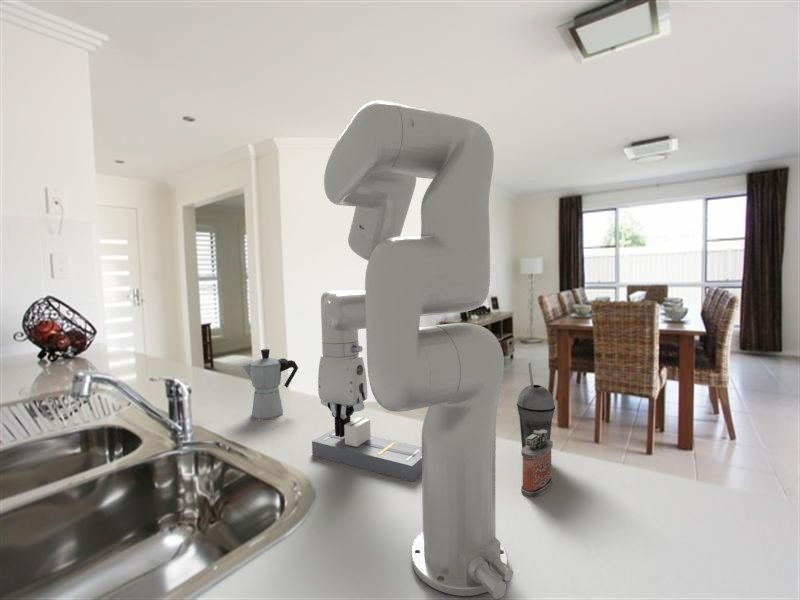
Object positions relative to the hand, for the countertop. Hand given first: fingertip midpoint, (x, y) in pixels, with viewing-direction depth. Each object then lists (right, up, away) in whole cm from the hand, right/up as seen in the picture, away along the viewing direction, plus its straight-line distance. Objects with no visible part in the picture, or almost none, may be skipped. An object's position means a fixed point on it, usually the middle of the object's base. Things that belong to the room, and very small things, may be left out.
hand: (342, 434), depth 87 cm
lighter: (+36, -5, -15) cm, 40 cm away
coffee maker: (-23, -3, +25) cm, 35 cm away
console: (+6, -4, -3) cm, 8 cm away
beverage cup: (+39, -4, -6) cm, 40 cm away
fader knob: (+3, -1, -2) cm, 4 cm away
